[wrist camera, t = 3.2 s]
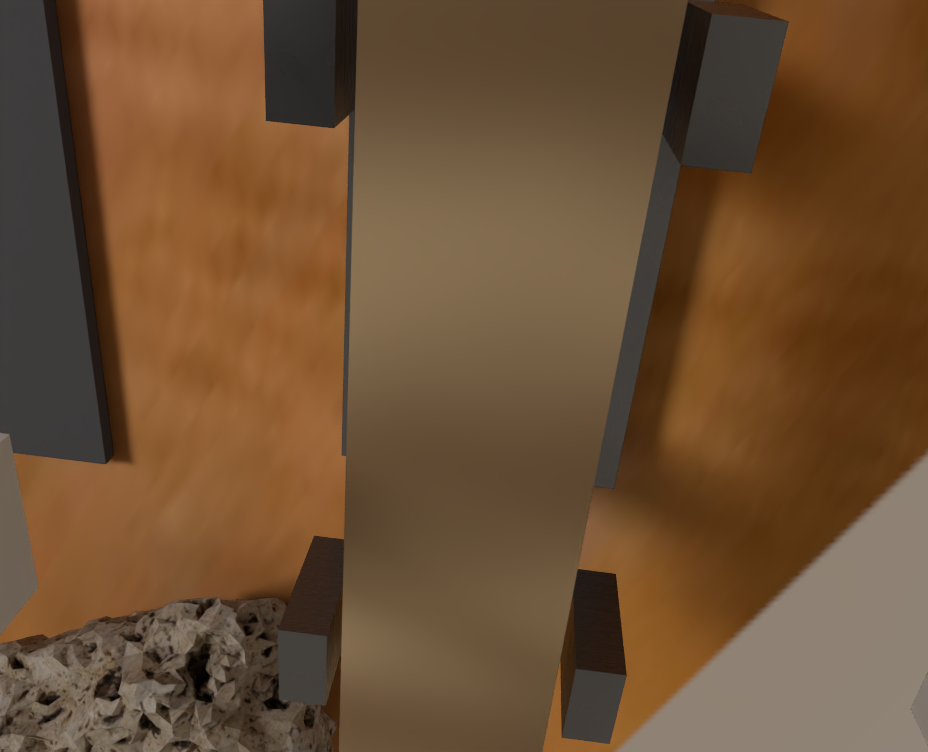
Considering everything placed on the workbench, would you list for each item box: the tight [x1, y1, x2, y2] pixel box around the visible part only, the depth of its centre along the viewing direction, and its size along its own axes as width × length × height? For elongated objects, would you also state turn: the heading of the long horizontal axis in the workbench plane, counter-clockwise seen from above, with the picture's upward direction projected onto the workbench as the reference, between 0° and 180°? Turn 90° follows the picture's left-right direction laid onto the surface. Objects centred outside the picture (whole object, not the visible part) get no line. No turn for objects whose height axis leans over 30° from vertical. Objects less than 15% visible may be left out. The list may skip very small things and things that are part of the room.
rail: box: [339, 0, 688, 752], centre depth 15 cm, size 20×4×4 cm, turn 175°
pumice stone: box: [0, 597, 338, 752], centre depth 31 cm, size 14×12×8 cm
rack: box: [263, 0, 789, 744], centre depth 20 cm, size 16×9×12 cm, turn 175°
